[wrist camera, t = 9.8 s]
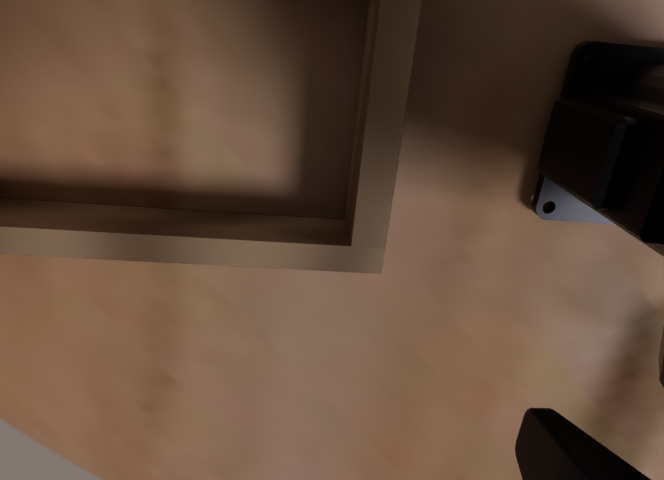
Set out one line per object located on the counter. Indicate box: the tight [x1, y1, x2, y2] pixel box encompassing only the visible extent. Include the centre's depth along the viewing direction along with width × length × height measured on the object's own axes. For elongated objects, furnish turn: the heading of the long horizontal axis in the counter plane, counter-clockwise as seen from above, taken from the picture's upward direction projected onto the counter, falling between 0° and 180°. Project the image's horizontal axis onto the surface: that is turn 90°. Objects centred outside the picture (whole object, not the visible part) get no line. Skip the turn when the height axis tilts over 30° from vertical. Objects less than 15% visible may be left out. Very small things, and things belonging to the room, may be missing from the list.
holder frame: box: [0, 0, 422, 274], centre depth 17 cm, size 15×10×2 cm, turn 85°
